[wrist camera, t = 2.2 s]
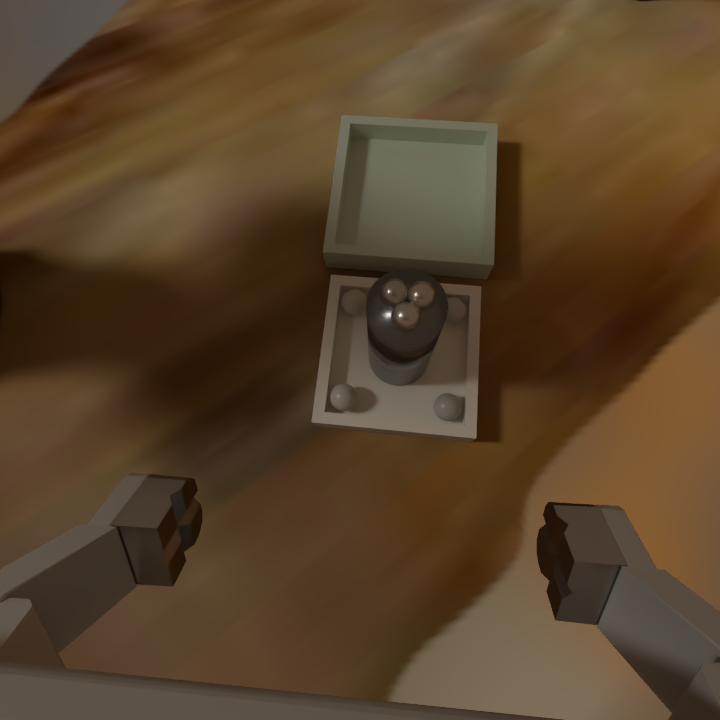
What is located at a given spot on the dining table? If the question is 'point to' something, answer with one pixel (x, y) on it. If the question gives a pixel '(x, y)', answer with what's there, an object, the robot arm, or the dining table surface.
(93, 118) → the dining table surface
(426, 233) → the bin
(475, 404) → the tray
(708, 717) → the robot arm
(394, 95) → the dining table surface
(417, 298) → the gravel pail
